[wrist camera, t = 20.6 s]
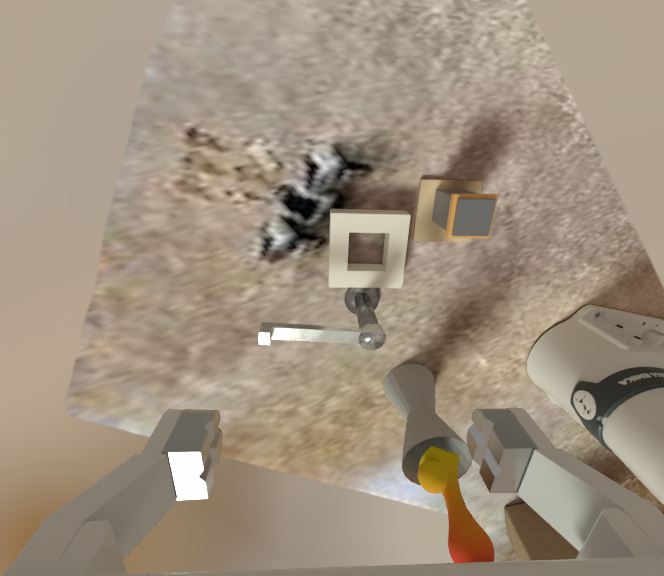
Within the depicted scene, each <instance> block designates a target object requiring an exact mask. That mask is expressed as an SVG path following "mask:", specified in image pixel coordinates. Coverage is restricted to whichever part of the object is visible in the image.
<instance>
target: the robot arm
mask: <svg viewBox="0 0 664 576" xmlns="http://www.w3.org/2000/svg"><path fill="white" fill-rule="evenodd" d="M527 371H528V374H529V377H530V379H531V380H532V381H533V382H534V383H535V384H536V385H537V386H539V387H540V388H541V389H543V390H544V391H545V393H546V395H547V397H548V399H549V400H550V401H551V402H552V403H554V404H556V405H560V406H561V407H562V408H564V409H565V410H566V411H567V412H568V413H569V414H570V415H571V416H572V417H574V418H575V419H576V420H577V421H578V422H579V423H580V424H581V425H583V426H584V427H585V428H586V429H587V430H588V431H589V432H590V433H591V434H592V435H593V437H594V438H595V439H596V440H597V441H598V442H599V443H601V444H602V445H603V446H604V447H605V448H606V449H608V450H609V451H611V452H614V453H615V454H616V455H617V456H618V458H619V459H620V460H621V461H622V462H623V463H624V464H625V465H626V466H627V467H628V468H629V469H630V470H631V471H632V472H633V473H634V475H635V476H636V477H637V478H638V479H639V480H640V481H641V482H642V483H643V484H644V485H645V486H646V487H647V488H648V489H649V490H650V492H651V493H652V494H653V495H654V496H655V497H656V498H657V499H658V500H659V501H660V502H661V503H662V504H664V319H659V318H654V317H649V316H645V315H640V314H635V313H630V312H625V311H620V310H615V309H611V308H606V307H601V306H596V305H586V306H584V307H583V308H581V309H580V310H579V311H578V312H577V313H575V314H574V315H573V316H572V317H571V318H570V319H568V320H566V321H564V322H562V323H560V324H558V325H557V326H555V327H553V328H552V329H550V330H549V331H547V332H546V333H545V334H544V335H543V336H542V337H541V338H540V339H539V340H538V341H537V342H536V343H535V345H534V346H533V348H532V350H531V352H530V354H529V357H528V361H527ZM471 419H472V420H473V422H474V424H473V425H472V426H471V427H470V428H469V429H468V433H467V446H468V450H469V453H470V455H471V457H472V459H473V460H474V461H475V462H476V463H478V464H479V465H480V466H481V468H480V472H479V473H480V475H481V477H482V479H483V481H484V483H485V485H486V487H487V488H488V490H489V492H490V493H518V494H517V495H518V496H519V497H520V498H521V499H523V500H524V501H525V502H526V503H527V504H528V505H529V506H530V507H531V508H532V509H533V510H535V511H536V512H537V513H538V514H539V515H540V516H541V517H542V518H543V519H544V520H545V521H546V522H548V523H549V524H550V525H551V526H552V527H553V528H554V529H555V530H556V531H557V532H558V533H560V534H561V535H562V536H563V537H564V538H565V539H566V540H567V541H568V542H569V543H570V544H572V545H573V546H574V547H575V548H576V549H577V550H578V551H579V553H578V555H577V557H576V559H561V560H531V561H502V562H473V563H446V564H445V563H444V564H415V565H388V566H387V565H386V566H356V567H328V568H327V567H326V568H300V569H297V568H296V569H271V570H270V569H268V570H267V569H266V570H236V571H207V572H180V573H179V572H178V573H148V574H127V573H126V569H125V566H124V563H123V560H124V559H125V558H126V557H127V556H128V555H129V554H130V553H131V551H132V550H133V549H134V548H135V547H136V546H137V545H138V544H139V543H140V542H141V540H142V539H143V538H144V537H145V536H146V535H147V534H148V533H149V532H150V531H151V530H152V529H153V527H154V526H155V525H156V524H157V523H158V522H159V521H160V520H161V518H163V516H164V515H165V514H166V513H167V512H168V511H169V510H170V509H171V508H172V507H173V506H174V504H175V503H176V502H177V500H186V499H207V498H208V495H209V492H210V488H211V485H212V482H213V479H214V472H213V468H214V467H215V466H216V465H217V464H218V462H219V459H220V455H221V449H222V430H221V429H220V428H218V426H219V423H220V414H219V411H218V410H190V409H185V410H173V409H168V410H167V411H166V412H165V413H164V414H163V416H162V418H161V419H160V421H159V423H158V425H157V427H156V428H155V430H154V432H153V434H152V435H151V437H150V439H149V441H148V443H147V444H146V446H145V448H144V450H143V451H142V453H141V454H135V455H134V456H132V457H131V458H130V459H128V460H127V461H126V462H124V463H123V464H121V465H120V466H118V467H117V468H116V469H114V470H113V471H112V472H110V473H109V474H108V475H106V476H105V477H103V478H102V479H101V480H99V481H98V482H96V483H95V484H93V485H92V486H91V487H89V488H88V489H87V490H85V491H84V492H82V493H81V494H79V495H78V496H77V497H75V498H74V499H73V500H71V501H70V502H68V503H67V504H66V505H64V506H63V507H62V508H60V509H59V510H57V511H56V512H54V513H53V514H52V515H50V516H49V517H48V518H46V519H45V520H44V521H43V522H42V524H41V525H40V526H39V528H38V529H37V530H36V532H35V533H34V535H33V536H32V537H31V539H30V540H29V542H28V543H27V544H26V546H25V547H24V548H23V550H22V551H21V553H20V554H19V555H18V557H17V558H16V560H15V561H14V562H13V563H12V565H11V566H10V568H9V569H8V571H7V572H6V573H5V575H4V576H664V515H663V514H662V513H661V512H660V511H659V510H658V509H657V508H656V507H655V506H654V505H652V504H651V503H649V502H647V501H646V500H644V499H642V498H641V497H639V496H638V495H636V494H634V493H633V492H631V491H629V490H628V489H626V488H624V487H623V486H621V485H620V484H618V483H616V482H615V481H613V480H611V479H610V478H608V477H606V476H605V475H603V474H601V473H600V472H598V471H597V470H595V469H593V468H592V467H590V466H588V465H587V464H585V463H583V462H582V461H580V460H579V459H577V458H575V457H574V456H572V455H570V454H569V453H567V452H565V451H564V450H562V449H556V448H555V447H554V445H553V444H552V443H551V442H550V440H549V439H548V438H547V437H546V435H545V434H544V433H543V432H542V430H541V429H540V428H539V427H538V425H537V424H536V423H535V422H534V421H533V419H532V418H531V417H530V416H529V414H528V413H527V412H526V411H525V410H524V409H522V408H506V409H475V410H474V411H473V414H472V417H471Z"/></svg>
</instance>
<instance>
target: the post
mask: <svg viewBox="0 0 664 576" xmlns="http://www.w3.org/2000/svg"><path fill="white" fill-rule="evenodd" d="M378 303H379V295H378V292H377V290H376V289H375V288H351V287H350V288H349V289H348V290H347V292H346V294H345V304H346V306H347V308H348V309H349V311H351V312H352V313H354V314H357V318H358V323H359V328H361V327H362V326H363V325H364V324H366V323H372V322H373V323H377V324H378V321H377V318H376V315H375V312H374V310H375V308H376V307H377V305H378Z"/></svg>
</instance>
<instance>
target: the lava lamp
mask: <svg viewBox="0 0 664 576" xmlns="http://www.w3.org/2000/svg"><path fill="white" fill-rule="evenodd" d="M383 389H384V392H385V394H386V396H387V397H388V399H389V400H390V401H391V403H392V404H393V405H394V406H395V408H396V409H397V410H398V412H399V413H400V414H401V415H402V417H403V418H404V419H405V421H406V422H407V423H406V431H405V440H404V448H403V456H402V470H403V472H404V474H405V476H406V477H407V478H408V479H409V480H410V481H411V482H414V483H416V484H418V485H421V486H422V487H423V488H424V489H425V490H427V491H428V492H430V493H440V492H442V494H443V496H444V498H445V502H446V506H447V509H448V517H449V538H448V547H449V552H450V554H451V557H452V559H453V561H454V563H473V562H494V548H493V544H492V542H491V540H490V538H489V536H488V535H487V534H486V532H485V531H484V530H483V529H482V528H481V527H480V526H479V524H478V523H477V522H476V521H475V519H474V518H473V517H472V515H471V514H470V512H469V511H468V509H467V508H466V505H465V503H464V500H463V498H462V495H461V493H460V487H459V482H458V479H459V478H461V477H462V476H463V475H464V474H465V473H466V472H467V471H468V469H469V468H470V466H471V464H472V457H471V455H470V453H469V450H468V446H467V444H466V443H465V442H464V441H463V440H462V439H461V438H460V437H459V436H458V435H457V434H456V433H455V432H454V431H453V430H452V429H451V428H450V427H449V426H448V425H447V424H446V423H445V422H444V421H443V420H442V419H441V418H440V417H439V416H438V415H437V414H436V413H435V380H434V376H433V374H432V372H431V371H430V370H429V369H428V368H426V367H425V366H423V365H420V364H415V363H411V364H404V365H401V366H398V367H396V368H395V369H393V370H392V371H390V373H389V374H388V375H387V376H386V378H385V381H384V385H383Z"/></svg>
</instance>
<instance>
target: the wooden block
mask: <svg viewBox="0 0 664 576" xmlns="http://www.w3.org/2000/svg"><path fill="white" fill-rule="evenodd" d="M504 510H505V519H506V529H507V536H508V538H509V540H510V542H511V544H512V546H513V548H514V550H515V553H516V555H517V557H518V559H519V561H531V560H561V559H576V557H577V555H578V553H579V551H578V550H577V549H576V548H575V547H574V546H573V545H572V544H570V543H569V542H568V541H567V540H566V539H565V538H564V537H563V536H562V535H561V534H560V533H558V532H557V531H556V530H555V529H554V528H553V527H552V526H551V525H550V524H549V523H548V522H546V521H545V520H544V519H543V518H542V517H541V516H540V515H539V514H538V513H537V512H536V511H535V510H533V509H532V508H531V507H530V506H529V505H528V504H527V503H526V502H525V503H520V504H515V505H511V506H506V507H505V508H504Z"/></svg>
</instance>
